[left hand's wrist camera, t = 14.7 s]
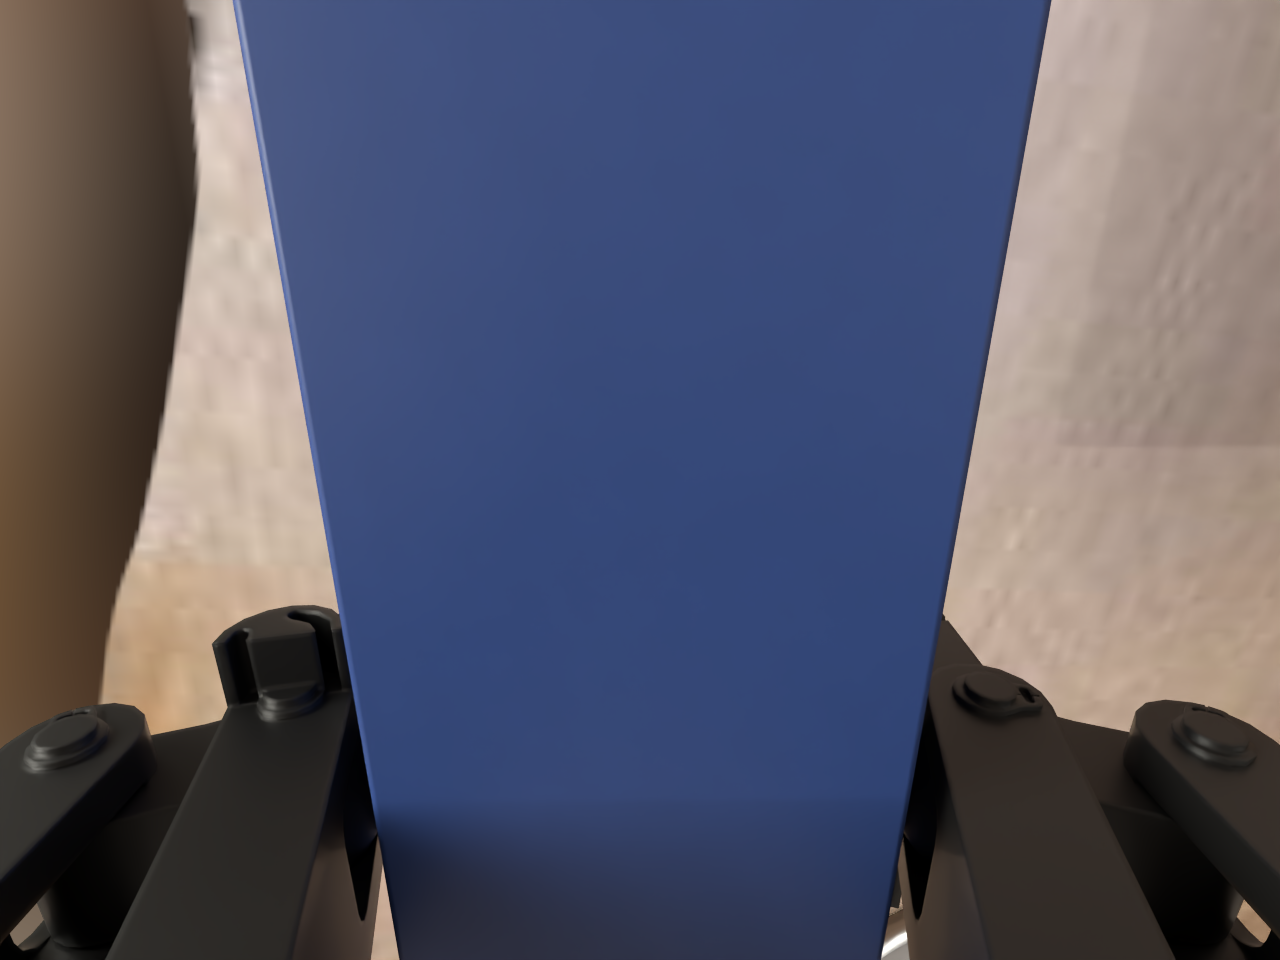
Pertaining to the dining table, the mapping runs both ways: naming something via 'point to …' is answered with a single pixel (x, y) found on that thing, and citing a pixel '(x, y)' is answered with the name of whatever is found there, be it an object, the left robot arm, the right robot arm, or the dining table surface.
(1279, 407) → the dining table surface
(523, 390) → the bar
